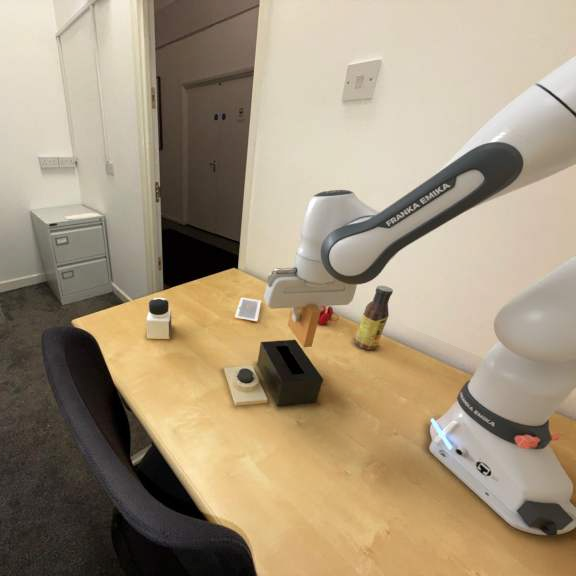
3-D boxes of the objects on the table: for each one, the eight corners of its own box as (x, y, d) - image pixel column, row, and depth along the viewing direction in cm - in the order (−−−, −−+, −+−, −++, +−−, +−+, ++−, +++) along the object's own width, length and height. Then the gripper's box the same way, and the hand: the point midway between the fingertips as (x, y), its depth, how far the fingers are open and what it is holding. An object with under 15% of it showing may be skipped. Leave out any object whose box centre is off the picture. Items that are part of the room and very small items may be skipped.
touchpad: (260, 303, 115) (261, 298, 114) (256, 323, 103) (257, 318, 102) (240, 299, 117) (241, 294, 116) (234, 319, 105) (234, 314, 104)
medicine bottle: (169, 339, 94) (169, 307, 88) (147, 339, 94) (145, 306, 88) (171, 326, 100) (171, 295, 95) (150, 325, 100) (148, 294, 95)
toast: (311, 346, 69) (321, 310, 65) (303, 347, 69) (312, 311, 65) (294, 324, 77) (302, 291, 73) (287, 325, 77) (294, 291, 72)
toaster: (316, 403, 73) (323, 379, 69) (277, 407, 72) (282, 382, 68) (290, 361, 86) (295, 339, 82) (257, 364, 85) (260, 341, 81)
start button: (254, 382, 75) (255, 377, 74) (240, 384, 74) (241, 379, 74) (249, 372, 78) (250, 367, 77) (236, 373, 78) (237, 368, 77)
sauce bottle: (374, 353, 90) (396, 296, 81) (351, 345, 93) (370, 289, 84) (377, 343, 94) (399, 288, 85) (356, 335, 98) (374, 281, 89)
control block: (267, 402, 73) (268, 394, 71) (235, 405, 72) (236, 397, 70) (251, 368, 83) (253, 360, 82) (224, 370, 82) (224, 362, 81)
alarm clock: (300, 295, 114) (342, 300, 104) (300, 309, 116) (342, 316, 106) (289, 305, 107) (333, 312, 97) (289, 321, 109) (333, 329, 99)
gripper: (275, 275, 61) (265, 330, 67) (367, 271, 63) (349, 325, 70) (264, 262, 66) (256, 315, 73) (349, 260, 69) (334, 311, 75)
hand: (302, 320), depth 71 cm, fingers closed on toast, 2 cm apart
